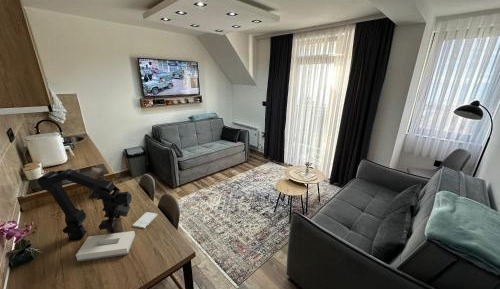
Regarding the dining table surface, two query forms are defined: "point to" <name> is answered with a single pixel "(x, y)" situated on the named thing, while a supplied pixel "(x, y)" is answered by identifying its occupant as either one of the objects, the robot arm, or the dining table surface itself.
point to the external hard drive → (144, 220)
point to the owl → (98, 175)
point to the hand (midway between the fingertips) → (115, 227)
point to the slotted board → (106, 246)
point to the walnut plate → (118, 226)
